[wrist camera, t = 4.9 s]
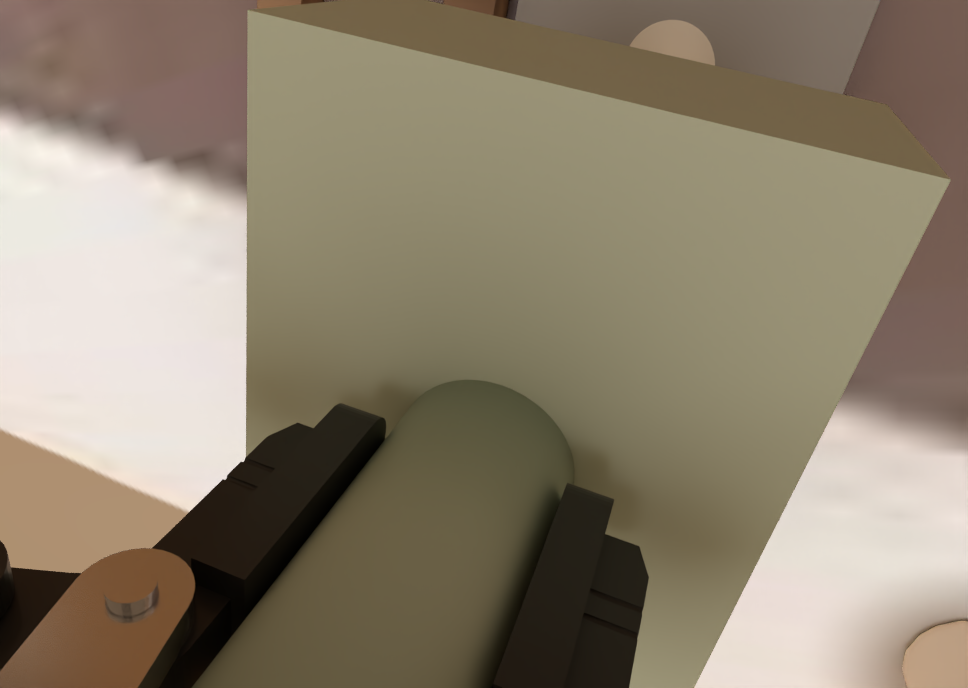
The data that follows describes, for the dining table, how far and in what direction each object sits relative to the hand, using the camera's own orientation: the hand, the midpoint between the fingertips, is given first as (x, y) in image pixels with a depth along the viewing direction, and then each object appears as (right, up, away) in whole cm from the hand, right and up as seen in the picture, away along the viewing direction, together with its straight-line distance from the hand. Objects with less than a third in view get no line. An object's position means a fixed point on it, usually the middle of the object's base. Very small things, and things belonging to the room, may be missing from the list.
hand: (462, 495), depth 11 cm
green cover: (+2, +3, +5) cm, 6 cm away
